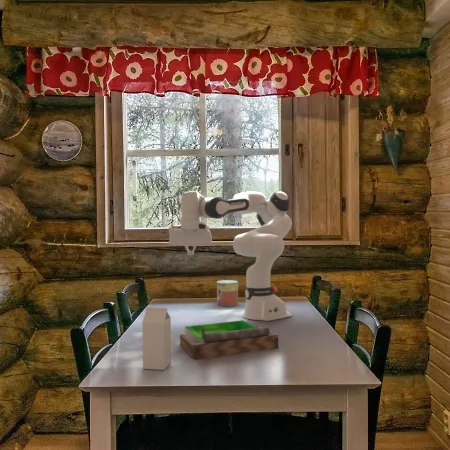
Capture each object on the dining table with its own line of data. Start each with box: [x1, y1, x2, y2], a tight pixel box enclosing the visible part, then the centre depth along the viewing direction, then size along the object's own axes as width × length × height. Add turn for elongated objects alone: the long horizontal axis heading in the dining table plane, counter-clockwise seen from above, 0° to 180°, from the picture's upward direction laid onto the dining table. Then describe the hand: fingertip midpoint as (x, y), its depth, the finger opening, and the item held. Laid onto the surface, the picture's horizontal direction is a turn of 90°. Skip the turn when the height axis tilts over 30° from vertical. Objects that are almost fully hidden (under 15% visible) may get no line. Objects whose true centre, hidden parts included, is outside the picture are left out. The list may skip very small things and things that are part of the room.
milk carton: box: [141, 306, 172, 371], centre depth 148 cm, size 7×7×19 cm
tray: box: [184, 320, 257, 343], centre depth 174 cm, size 25×25×5 cm
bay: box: [179, 325, 279, 361], centre depth 168 cm, size 32×18×10 cm, turn 112°
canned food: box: [216, 279, 239, 307], centre depth 245 cm, size 11×11×12 cm
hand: (190, 254), depth 218 cm, fingers closed
